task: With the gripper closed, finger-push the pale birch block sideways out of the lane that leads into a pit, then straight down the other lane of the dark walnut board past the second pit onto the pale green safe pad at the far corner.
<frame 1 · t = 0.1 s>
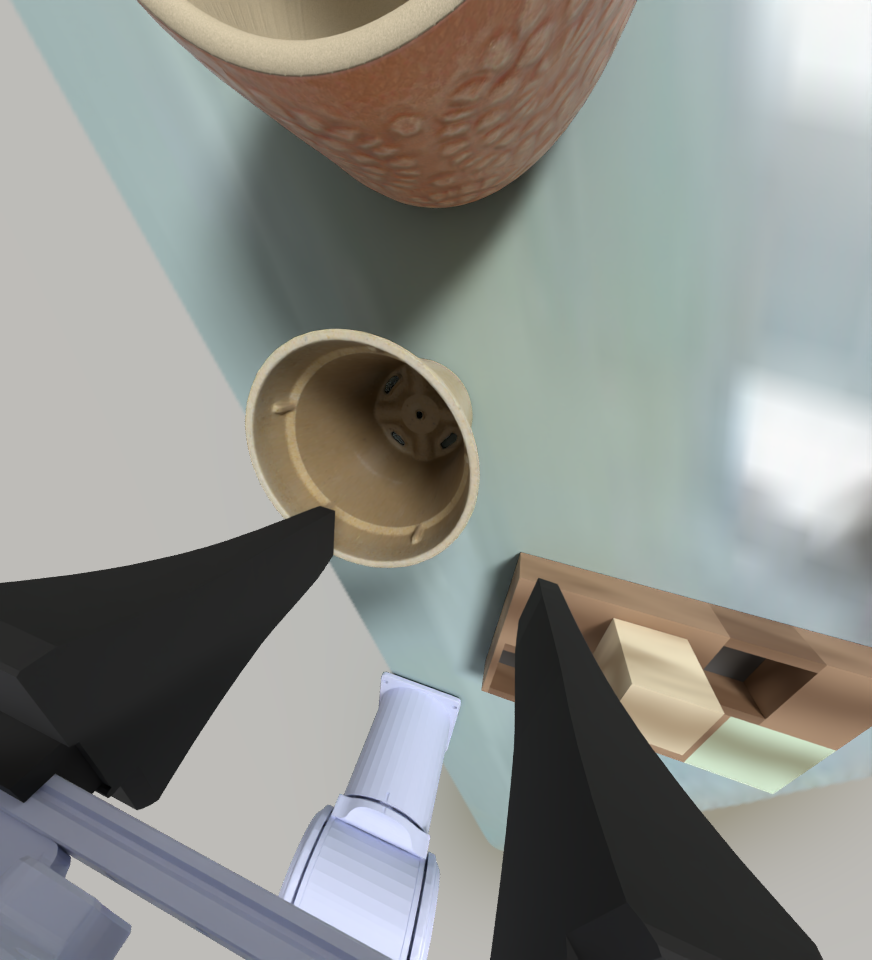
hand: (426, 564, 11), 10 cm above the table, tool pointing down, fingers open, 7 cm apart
flower pot: (423, 413, 20), on the table
birch block: (635, 650, 19), point 2 cm above the table, touching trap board
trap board: (640, 656, 23), on the table
planter: (464, 46, 13), on the table
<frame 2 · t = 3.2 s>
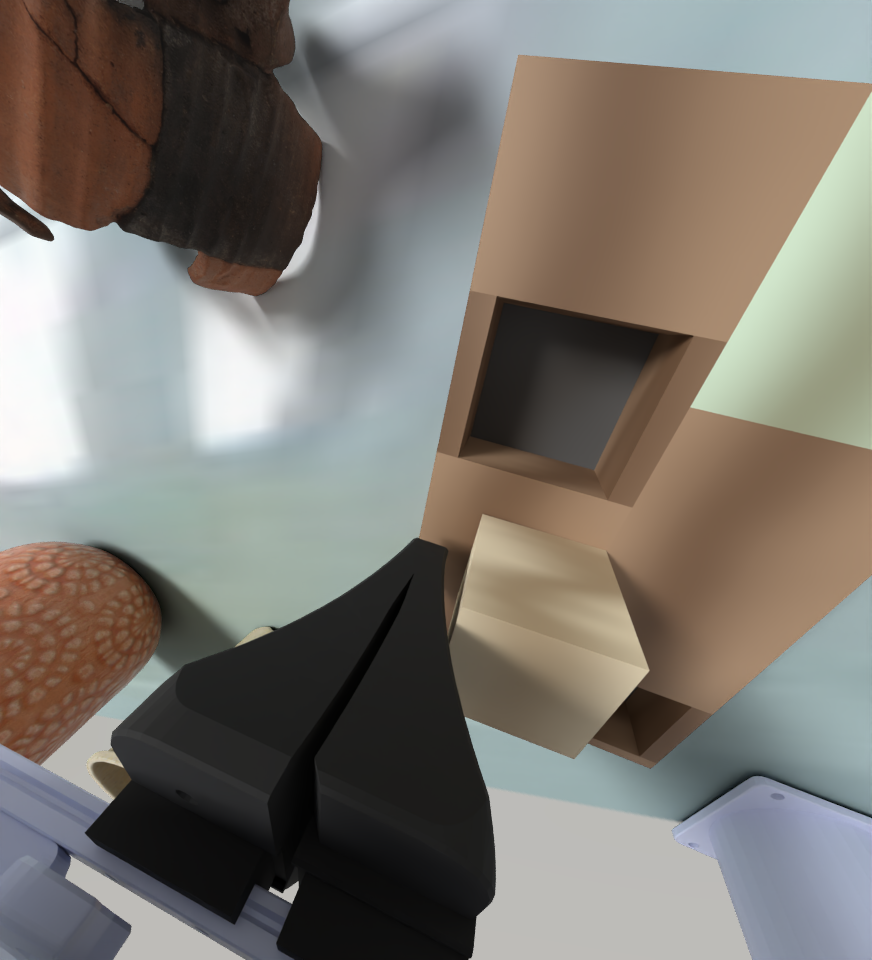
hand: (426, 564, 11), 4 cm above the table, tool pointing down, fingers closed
flower pot: (291, 654, 23), on the table
birch block: (523, 576, 11), point 3 cm above the table, touching gripper, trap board
pottery mug: (223, 112, 10), on the table
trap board: (595, 507, 12), on the table
planter: (124, 584, 25), on the table
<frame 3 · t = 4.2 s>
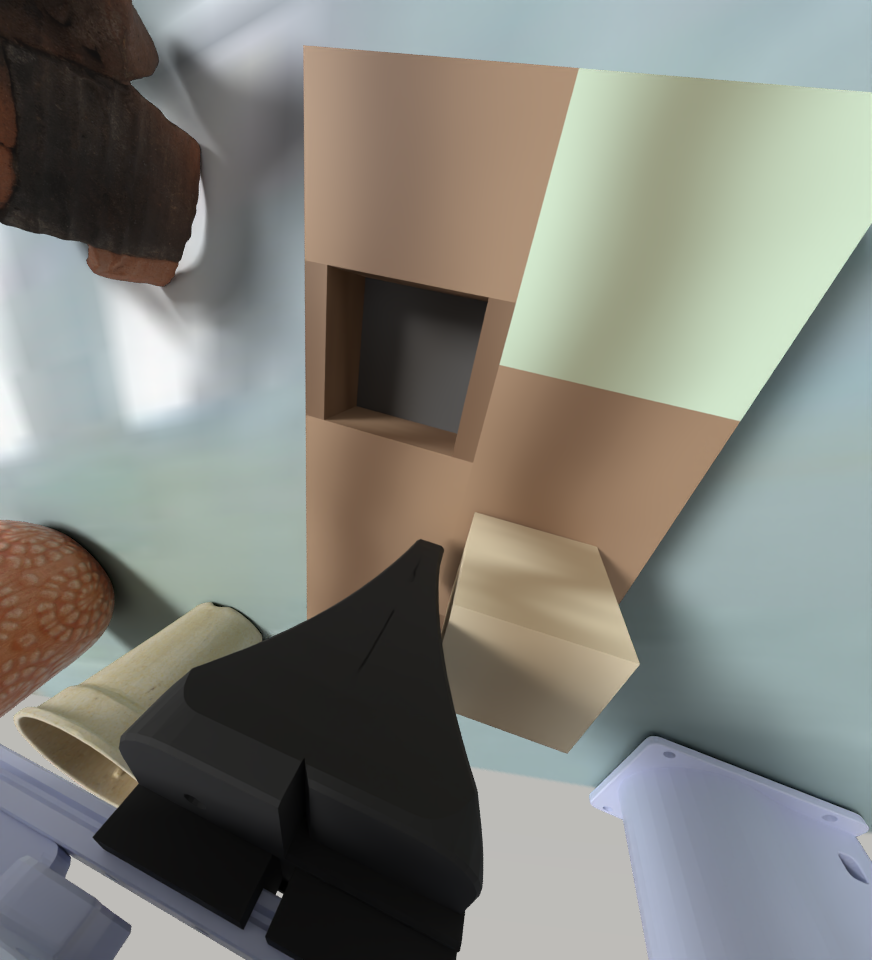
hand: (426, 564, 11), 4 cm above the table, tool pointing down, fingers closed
flower pot: (235, 630, 24), on the table
birch block: (516, 573, 11), point 3 cm above the table, touching gripper, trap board
pottery mug: (117, 118, 11), on the table
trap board: (474, 473, 13), on the table
planter: (80, 564, 26), on the table
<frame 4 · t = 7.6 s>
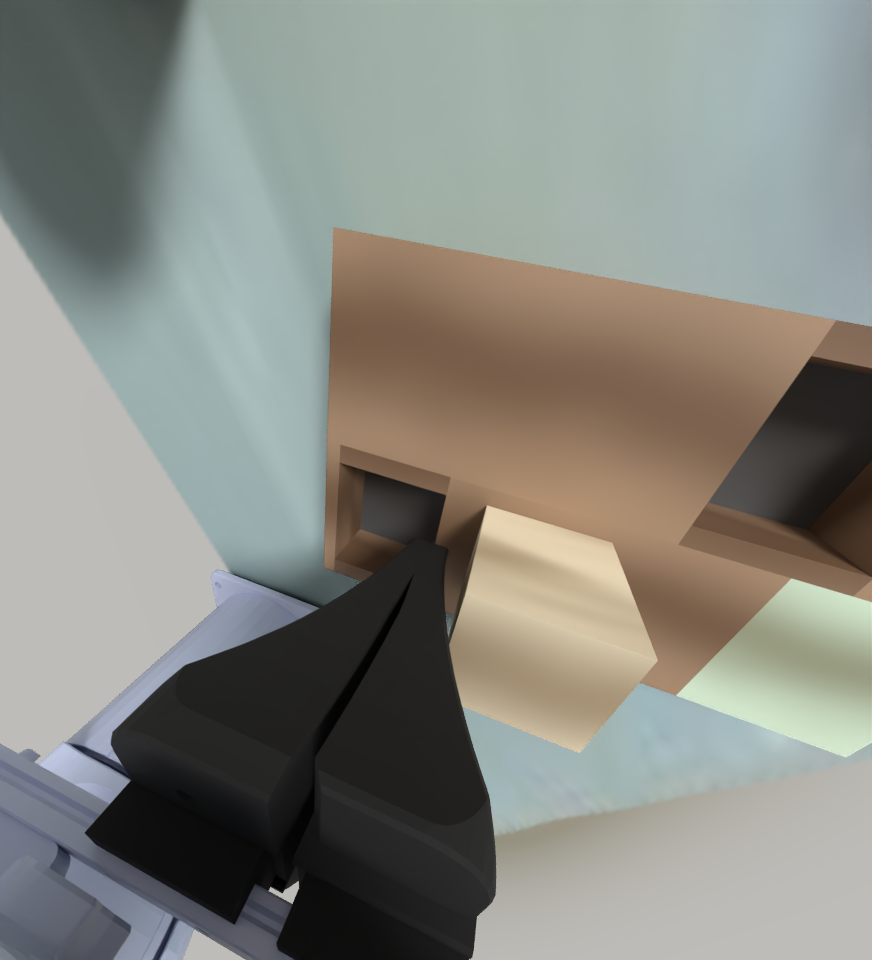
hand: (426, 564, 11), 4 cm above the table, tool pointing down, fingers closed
birch block: (528, 569, 11), point 3 cm above the table, touching gripper
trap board: (607, 491, 12), on the table
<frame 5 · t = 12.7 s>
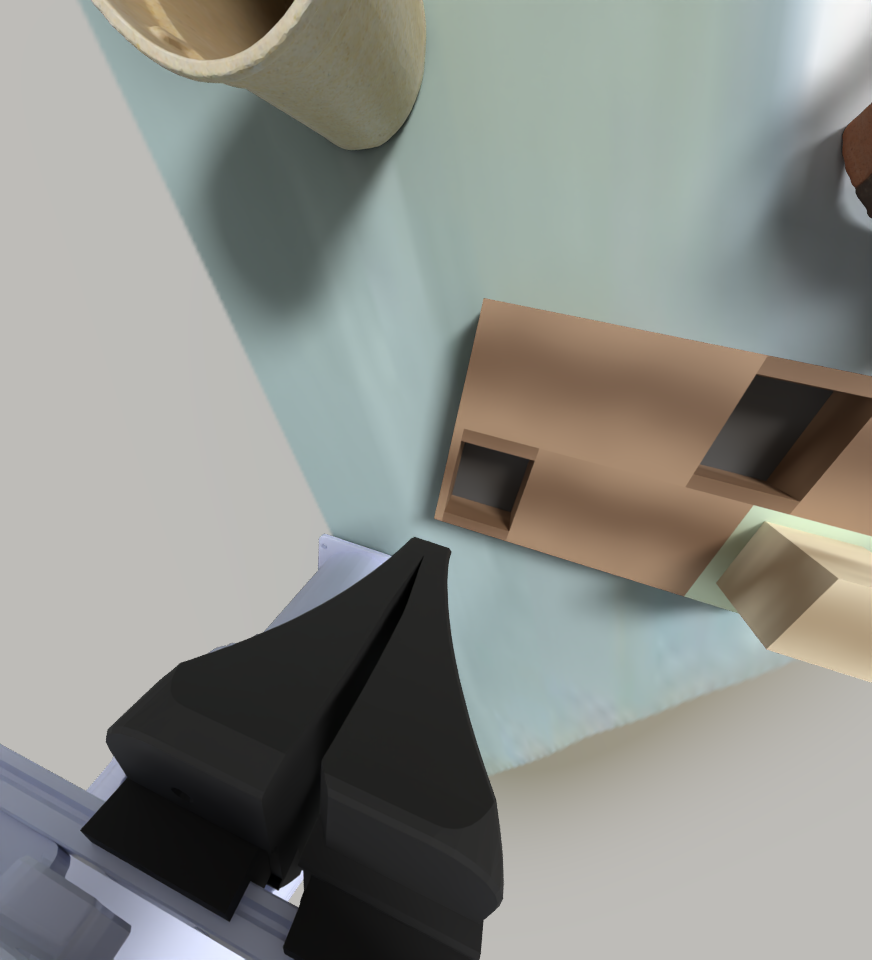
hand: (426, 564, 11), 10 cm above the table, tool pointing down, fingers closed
flower pot: (361, 65, 14), on the table
birch block: (783, 566, 16), point 2 cm above the table, touching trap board
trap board: (636, 460, 18), on the table
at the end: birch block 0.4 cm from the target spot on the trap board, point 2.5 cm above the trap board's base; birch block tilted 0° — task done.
